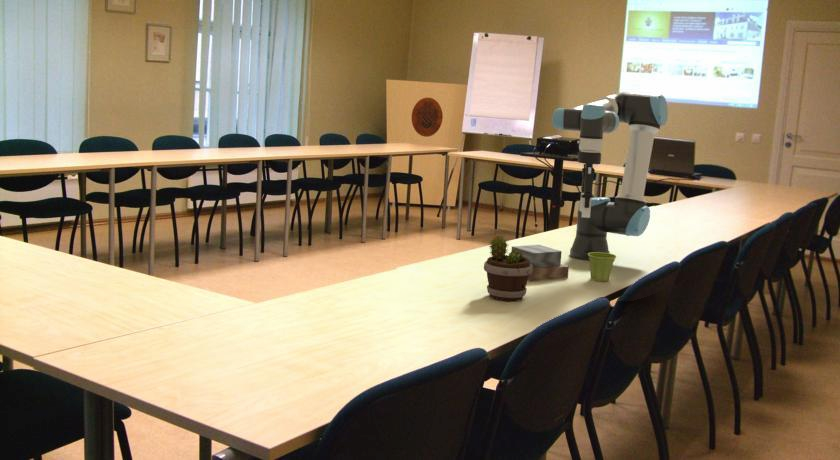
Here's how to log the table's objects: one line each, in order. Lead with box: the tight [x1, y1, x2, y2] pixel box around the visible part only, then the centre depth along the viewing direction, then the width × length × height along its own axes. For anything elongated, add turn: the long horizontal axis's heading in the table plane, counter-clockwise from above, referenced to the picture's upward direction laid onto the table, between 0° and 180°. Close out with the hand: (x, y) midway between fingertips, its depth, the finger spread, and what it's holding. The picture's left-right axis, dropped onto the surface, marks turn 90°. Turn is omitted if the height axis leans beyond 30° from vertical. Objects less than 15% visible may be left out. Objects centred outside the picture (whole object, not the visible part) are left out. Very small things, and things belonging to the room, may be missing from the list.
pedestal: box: [511, 244, 570, 282], centre depth 281 cm, size 16×16×9 cm
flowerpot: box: [483, 231, 533, 302], centre depth 246 cm, size 14×15×20 cm
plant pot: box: [588, 252, 617, 283], centre depth 278 cm, size 9×9×9 cm
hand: (584, 214), depth 275 cm, fingers open, 13 cm apart
